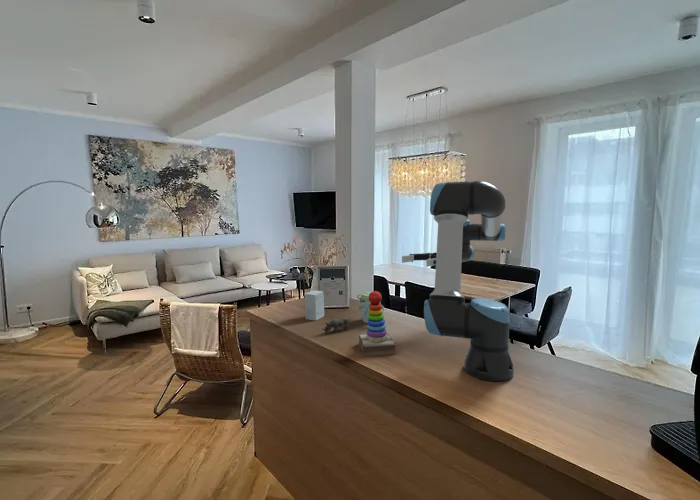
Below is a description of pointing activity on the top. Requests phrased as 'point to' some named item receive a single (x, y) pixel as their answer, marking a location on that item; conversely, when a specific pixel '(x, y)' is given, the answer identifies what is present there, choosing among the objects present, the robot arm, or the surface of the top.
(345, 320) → the rhino figurine
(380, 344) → the pedestal
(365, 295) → the character sculpture
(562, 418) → the top surface
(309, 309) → the small box
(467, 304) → the robot arm
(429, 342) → the top surface
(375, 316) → the stacking toy
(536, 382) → the top surface
